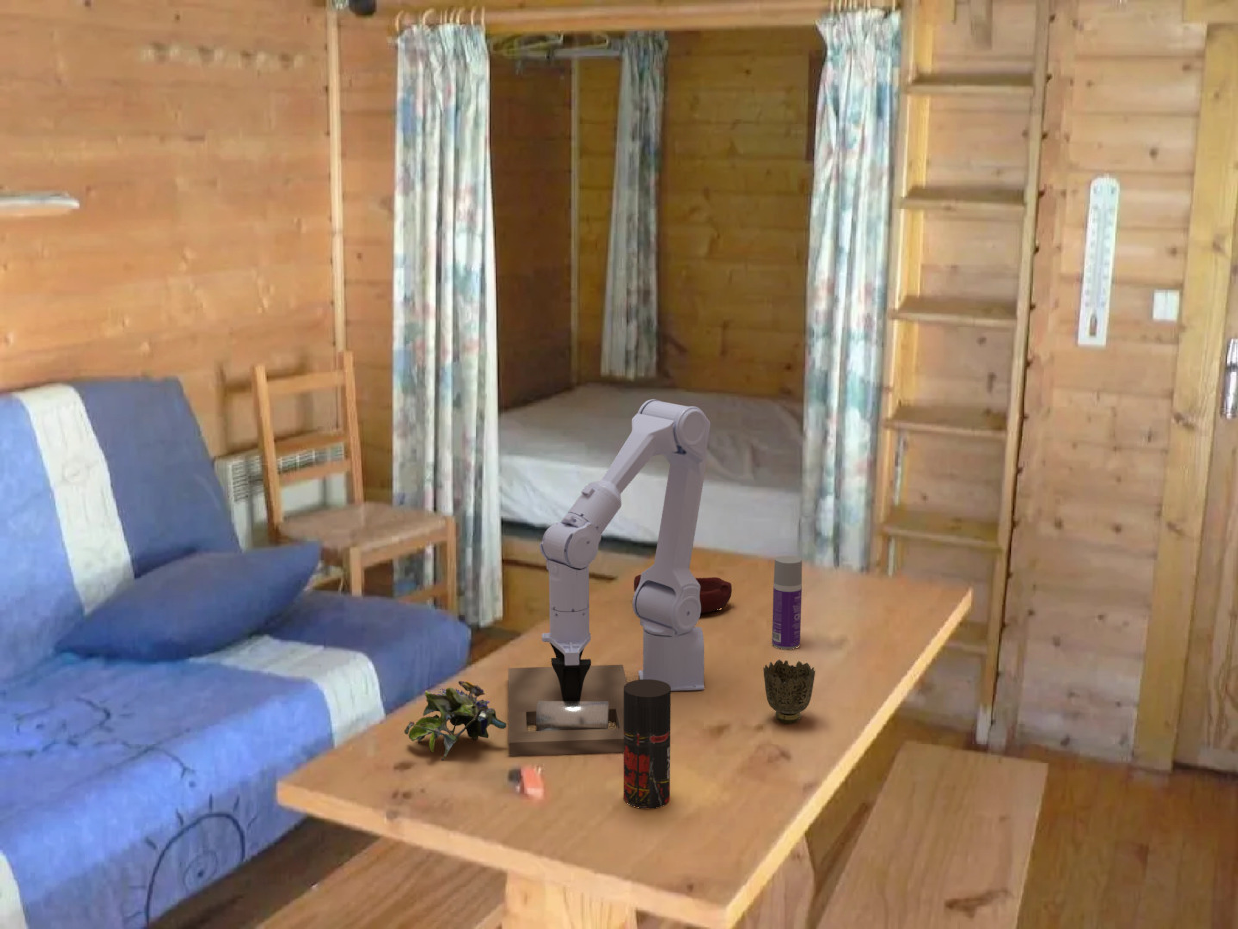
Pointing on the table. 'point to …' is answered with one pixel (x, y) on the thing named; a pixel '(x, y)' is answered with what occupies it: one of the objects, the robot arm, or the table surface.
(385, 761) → the table surface
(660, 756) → the deodorant
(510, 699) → the grey brown board
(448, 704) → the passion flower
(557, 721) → the roller
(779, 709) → the cup
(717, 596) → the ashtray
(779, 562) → the container
